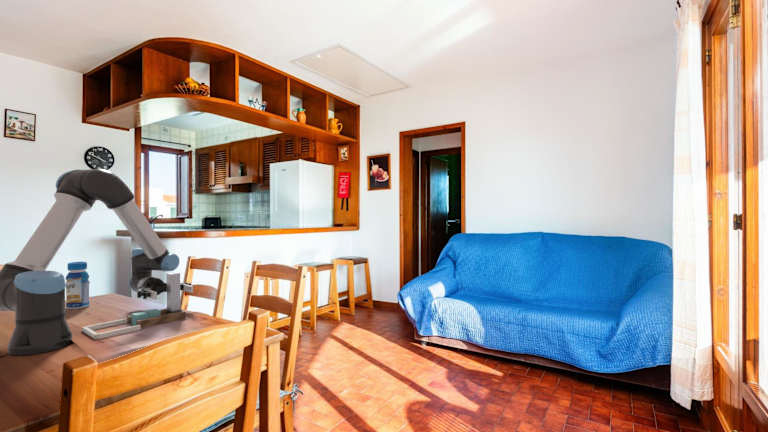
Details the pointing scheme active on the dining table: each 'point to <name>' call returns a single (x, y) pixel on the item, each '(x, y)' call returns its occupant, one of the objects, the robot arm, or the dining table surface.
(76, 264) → the blue pill bottle
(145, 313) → the teal cube
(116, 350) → the dining table surface
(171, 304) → the brushed metal bar
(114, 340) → the dining table surface
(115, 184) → the robot arm
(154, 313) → the teal block
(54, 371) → the dining table surface
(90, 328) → the tray
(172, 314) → the channel
